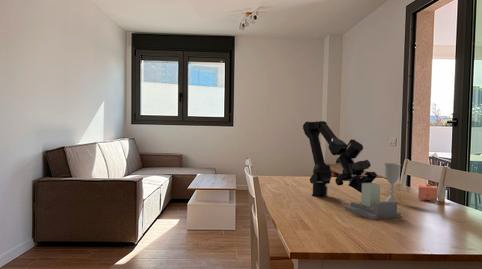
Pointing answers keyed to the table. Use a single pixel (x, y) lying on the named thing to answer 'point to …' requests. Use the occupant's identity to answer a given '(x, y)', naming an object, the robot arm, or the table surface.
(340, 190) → the table surface
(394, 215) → the track
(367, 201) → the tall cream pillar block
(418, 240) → the table surface
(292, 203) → the table surface
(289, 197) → the table surface
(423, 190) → the pink cube teapot
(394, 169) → the chalice
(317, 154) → the robot arm
